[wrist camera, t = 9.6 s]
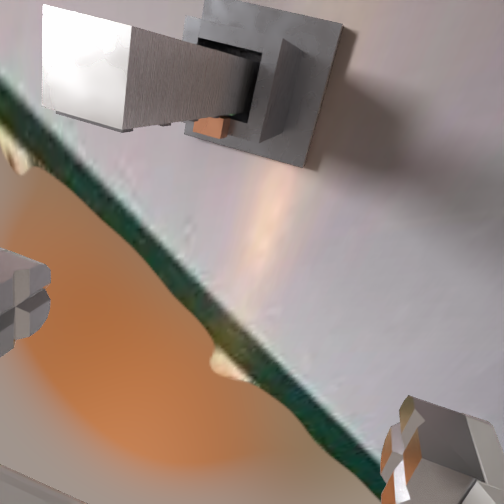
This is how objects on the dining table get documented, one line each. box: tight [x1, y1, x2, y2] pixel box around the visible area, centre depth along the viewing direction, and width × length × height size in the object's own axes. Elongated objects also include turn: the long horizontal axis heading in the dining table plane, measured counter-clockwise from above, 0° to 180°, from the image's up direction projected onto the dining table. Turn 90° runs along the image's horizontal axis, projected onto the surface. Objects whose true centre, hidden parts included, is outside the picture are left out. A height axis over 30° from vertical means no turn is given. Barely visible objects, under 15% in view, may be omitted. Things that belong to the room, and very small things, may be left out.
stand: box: [180, 0, 343, 168], centre depth 38 cm, size 14×14×14 cm
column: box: [42, 5, 260, 133], centre depth 27 cm, size 4×4×22 cm
